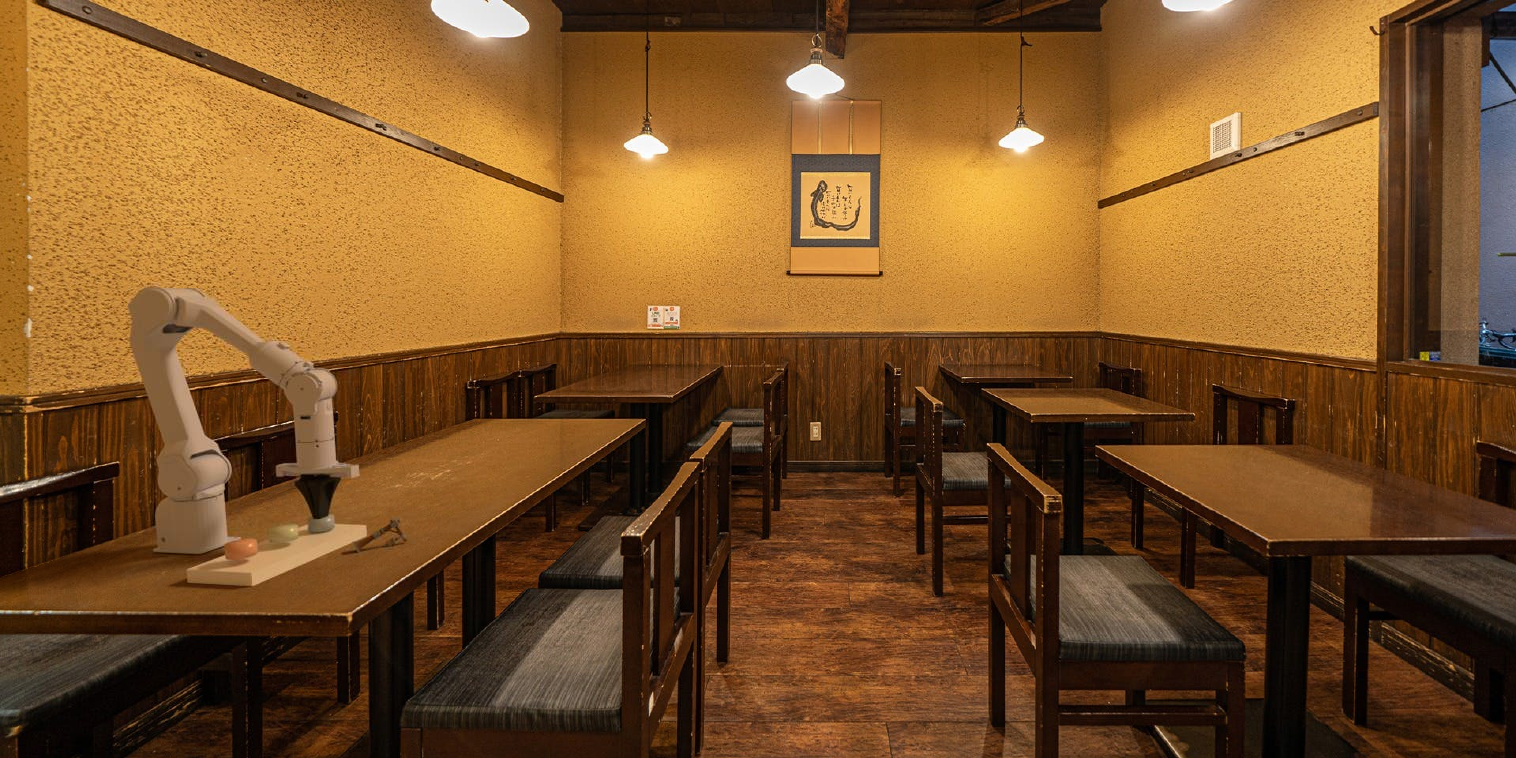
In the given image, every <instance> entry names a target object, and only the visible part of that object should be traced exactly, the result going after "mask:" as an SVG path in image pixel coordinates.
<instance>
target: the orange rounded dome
mask: <svg viewBox="0 0 1516 758" xmlns="http://www.w3.org/2000/svg"><path fill="white" fill-rule="evenodd" d="M257 543H258V540H257V539H256V538H241V539H240V540H235V541H231V542H228V543H226V544H225V545H224V546H223V547H224V555H225V559H227V560H238V559H245V558H249V557H252V556H254V555H256V554H257V553H258V551H257Z"/></svg>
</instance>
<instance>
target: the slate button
mask: <svg viewBox="0 0 1516 758" xmlns="http://www.w3.org/2000/svg"><path fill="white" fill-rule="evenodd" d="M306 520H307V524H308V531H309V532H322V531H327V530H331V529H333V528H335V524H336V523H335V515H334V514H330V513H329V515H328V516H327V517H325V518H322V519H313V517H312V516H310V517H307V518H306Z"/></svg>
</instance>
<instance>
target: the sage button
mask: <svg viewBox="0 0 1516 758" xmlns="http://www.w3.org/2000/svg"><path fill="white" fill-rule="evenodd" d="M298 528H299V525H298V524H297V523H283V524H277V525H273V526H271V527H269V528H268V539H269V542H270V543H284V542H289V541H293V540H296V539H297V538H299V535H298Z"/></svg>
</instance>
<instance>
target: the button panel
mask: <svg viewBox="0 0 1516 758" xmlns="http://www.w3.org/2000/svg"><path fill="white" fill-rule="evenodd" d="M298 535H299V538H297V539H296V540H293V541H289V542H284V543H270V542H269V538H267V539H265V540H261V541H260V542H257V551H258V553H257V554H256V555H254V556H252V557H249V558H245V559H238V560H227V559H225V554H224V555H222V556H219V557H216V558H213V559H212V560H208V561H206V562H203V563H200V564H197V565H195V566H193V567H189V568H187V569H186V578H187V583H190V584H202V585H203V584H206V585H222V586H239V587H240V586H241V587H243V586H244V587H245V586H246V587H254V586H257V585H258V584H261V583H262V582H265V581H267V580H270V579H272V578H275V577H277V576H279V575H281V574H284V573H286V572H289V571H291V570H292V569H295V568H297V567H299V566H302V565H304V564H306V563H308V562H311V561H314V560H315V559H318V558H320V557H323V556H324V555H327V554H329V553H331V552H334V551H336V550H338V549H341V548H343V547H346V546H347V545H349V544H352V542H353V541H354V542H358V541H360V540H362V539H365V538H367V537H368V531H367V524H347V523H346V524H343V523H342V524H341V523H335V528H333V529H331V530H327V531H322V532H309V531H308V523H307V524H305V525H302V526H298Z"/></svg>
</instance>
